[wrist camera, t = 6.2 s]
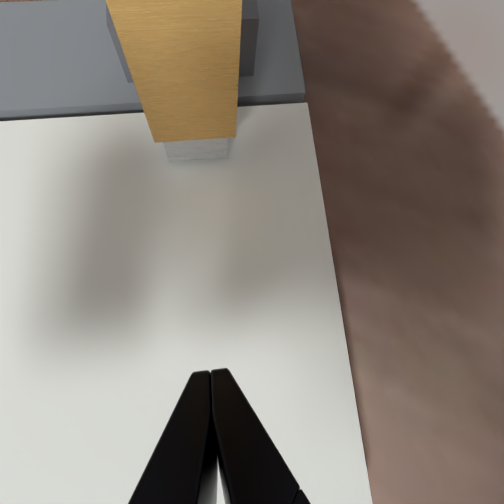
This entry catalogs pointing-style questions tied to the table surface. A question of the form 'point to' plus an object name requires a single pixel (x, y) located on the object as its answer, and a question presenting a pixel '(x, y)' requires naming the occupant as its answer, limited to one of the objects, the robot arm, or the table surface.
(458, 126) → the table surface
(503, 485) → the table surface
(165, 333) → the white board
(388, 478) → the table surface
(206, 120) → the tan square block
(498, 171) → the table surface
